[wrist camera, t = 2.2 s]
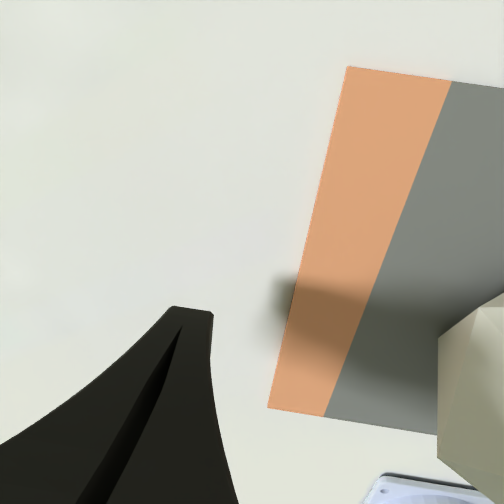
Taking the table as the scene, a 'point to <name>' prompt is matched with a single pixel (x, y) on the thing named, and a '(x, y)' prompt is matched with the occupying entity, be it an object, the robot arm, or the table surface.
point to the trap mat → (394, 248)
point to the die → (473, 399)
